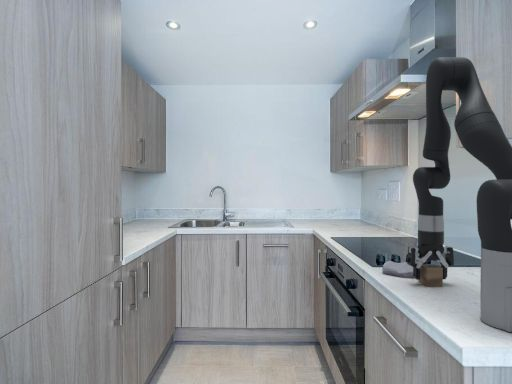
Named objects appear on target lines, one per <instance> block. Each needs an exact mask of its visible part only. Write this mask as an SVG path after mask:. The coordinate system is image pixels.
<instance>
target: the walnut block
mask: <svg viewBox="0 0 512 384" xmlns="http://www.w3.org/2000/svg"><path fill="white" fill-rule="evenodd" d="M443 280H444V279H443V268H442V267H441V266H440V265H436V264H432V263H431V264H430V263H427V264H425V263H423V264H422V265H421V267H420V280H417V281H418V283H419V284H421V285H423V286H424V287H427V288H440V287H441V288H443V287H444V286H443V285H444V283H443V282H444V281H443Z"/></svg>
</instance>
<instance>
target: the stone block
mask: <svg viewBox="0 0 512 384" xmlns="http://www.w3.org/2000/svg"><path fill="white" fill-rule="evenodd" d="M381 272H382V274H385V275H389V276H395V277H398V278H406V279H415V277H414V276H413V267H412V266H410V265H408V264H407V261H406V262H405V261H404V262H395V261H392V260H387V261H386V262H384V264H383V265H382V271H381Z"/></svg>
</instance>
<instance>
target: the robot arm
mask: <svg viewBox="0 0 512 384" xmlns="http://www.w3.org/2000/svg"><path fill="white" fill-rule="evenodd" d="M425 77H426V78H425V79H426V80H425V109H426V110H425V113H426V115H425V116H426V117H425V120H426V121H425V123H426V124H425V135H424V142H423V149H422V157H423V158H424V159H425V160H427V161H428V160H429V161H434V165H435V166H420V167H418V168H416V169H415V170H414V172H413V173H412V183H413V186H414V189H415V193H416V197H417V201H418V216H417V217H418V218H417V226H416V227H417V247H414V246H413V247H412V246H408V247H407V258H406V259H407V260H406V262H407V264H408V265H410V266H412V267H413V276H414V277H415V278H414V279H415V280H417V281H418V280H420V267H421V265H422V264H425V263H426V262H432V261H435V262H437V263H438V264H439V266H440V267H442V268H443V280H446V279H447V278H448V268H449V267H451V266H452V267H454V266H455V261H454V257H455V256H454V247H452V246H448V245H445V246H444V244H445V220H444V219H445V218H444V199H443V198H442V197H440V196H436V195H432V194H431V192H430V190H442V189H445V188H446V187H448V185H449V183H450V182H451V170H450V162H449V150H450V143H451V139H452V130H451V127H450V123H449V121H448V118H447V117H446V113H445V112H444V108H443V105H442V95H443V91H454V92H455V93H456V94H457V96H458V98H459V100H460V106H459V109H458V110H457V113H456V115H455V119H454V122H453V123H454V124H453V125H454V126H453V127H454V130H455V132H456V135H457V137H458V140H459V141H460V144H461V145H462V147H463V148H464V149H465V151H467V152H468V153H469V154H470V155H471V156H472V157H474V158H475V159H476V160H477V161H479V162H480V163H481V164H482V165H484V166H485V167H486V168H487V169H488V170H490V172H491V173H492V174H493V176H494V177H495V179H488V180H485V181H484V182H482V183H481V185H480V186H479V188H478V190H477V194H476V215H477V217H476V218H477V232H478V236H479V239H480V294H479V296H480V299H479V300H480V303H479V304H480V306H479V307H480V315H479V316H480V320H481V322H483V323H484V324H486V325H489V326H490V327H493V328H497V329H499V330H504V331H506V332H508V333H512V224H511V223H512V222H511V221H512V144H511V143H510V141H509V139H508V137H507V136H506V134H505V132H504V130H503V128H502V125H501V123H500V121H499V119H498V118H497V115H496V114H495V112H494V110H493V109H492V107H491V105H490V103H489V101H488V98H487V97H486V94H485V93H484V90H483V87H482V85H481V82H480V79H479V77H478V74H477V70H476V67H475V65H474V64H473V61H472V60H470V59H469V58H467V57H463V56H462V57H461V56H455V57H454V56H451V57H450V56H446V57H445V56H440V57H436V58H434V59H433V60H432V61H431V62H430V64H429V66H428V68H427V72H426V76H425ZM417 253H418V254H417ZM443 254H444V256H443ZM416 255H417V256H416Z"/></svg>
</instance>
